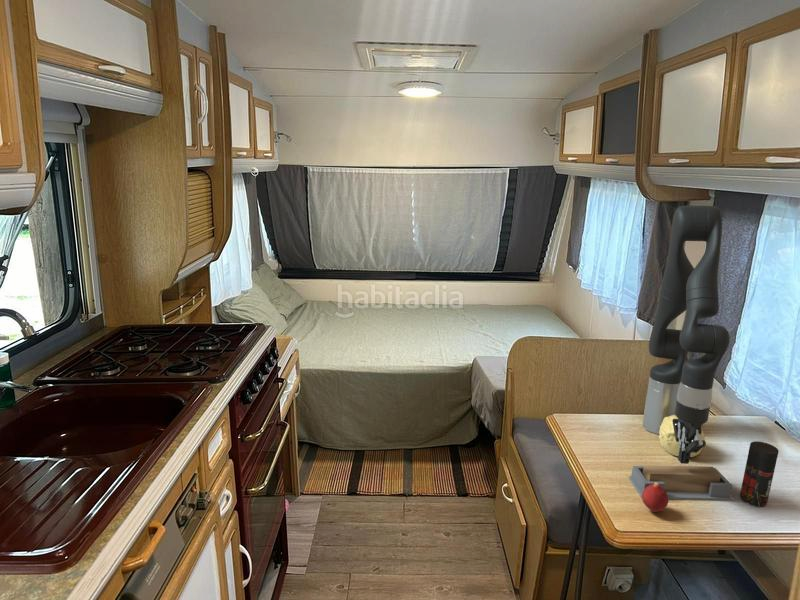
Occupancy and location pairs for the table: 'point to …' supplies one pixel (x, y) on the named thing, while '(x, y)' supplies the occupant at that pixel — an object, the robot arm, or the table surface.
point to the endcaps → (715, 491)
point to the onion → (655, 497)
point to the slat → (682, 477)
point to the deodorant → (758, 473)
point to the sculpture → (672, 437)
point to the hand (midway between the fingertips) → (683, 462)
